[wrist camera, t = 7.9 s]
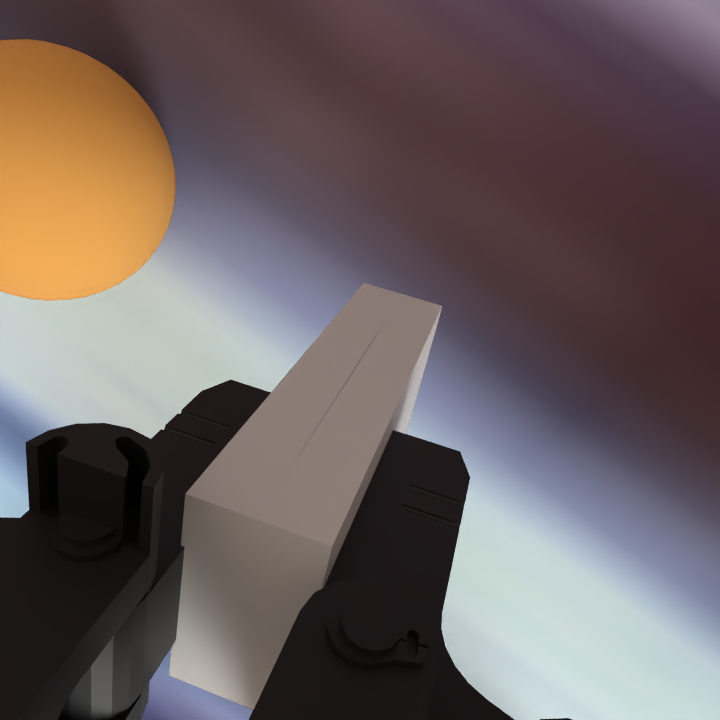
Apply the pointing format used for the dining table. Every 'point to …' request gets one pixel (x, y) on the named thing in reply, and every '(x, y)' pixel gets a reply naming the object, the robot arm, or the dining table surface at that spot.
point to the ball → (76, 174)
